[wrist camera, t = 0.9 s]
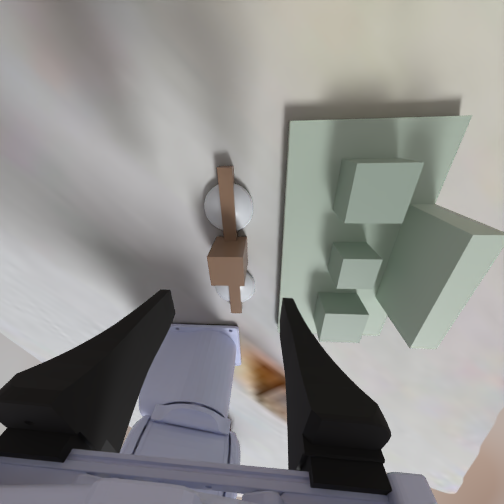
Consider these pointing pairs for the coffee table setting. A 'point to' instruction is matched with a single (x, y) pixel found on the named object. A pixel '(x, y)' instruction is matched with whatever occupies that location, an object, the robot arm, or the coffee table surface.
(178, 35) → the coffee table surface
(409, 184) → the mint green baseplate
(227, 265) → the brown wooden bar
